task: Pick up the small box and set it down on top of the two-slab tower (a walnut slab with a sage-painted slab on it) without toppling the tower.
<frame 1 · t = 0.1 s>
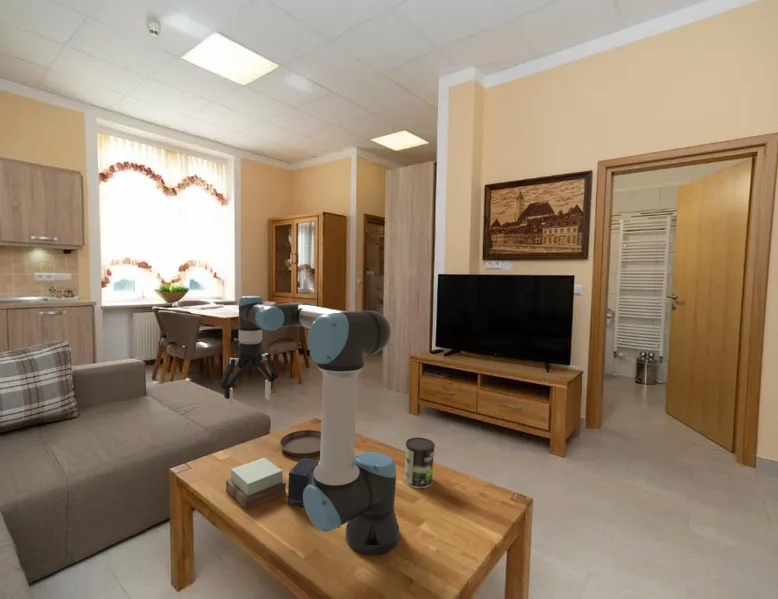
hand: (249, 403, 133), 28 cm above the table, fingers open, 13 cm apart
base slab: (255, 492, 130), on the table, touching top slab
plant saucer: (305, 448, 162), on the table
top slab: (256, 481, 130), point 3 cm above the table, touching base slab
small box: (303, 497, 128), on the table
coffee can: (418, 481, 140), on the table
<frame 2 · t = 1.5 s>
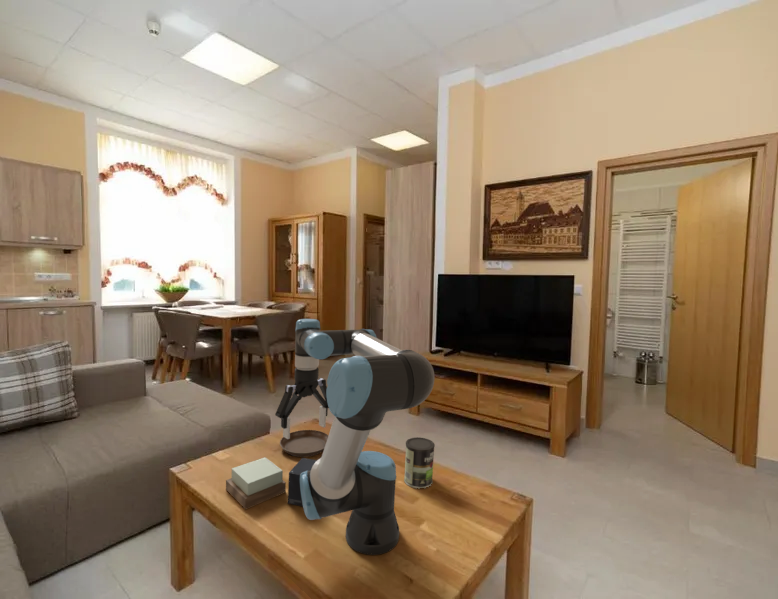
hand: (304, 431, 126), 22 cm above the table, fingers open, 13 cm apart
base slab: (255, 492, 130), on the table
top slab: (256, 481, 130), point 3 cm above the table
everything else where it was.
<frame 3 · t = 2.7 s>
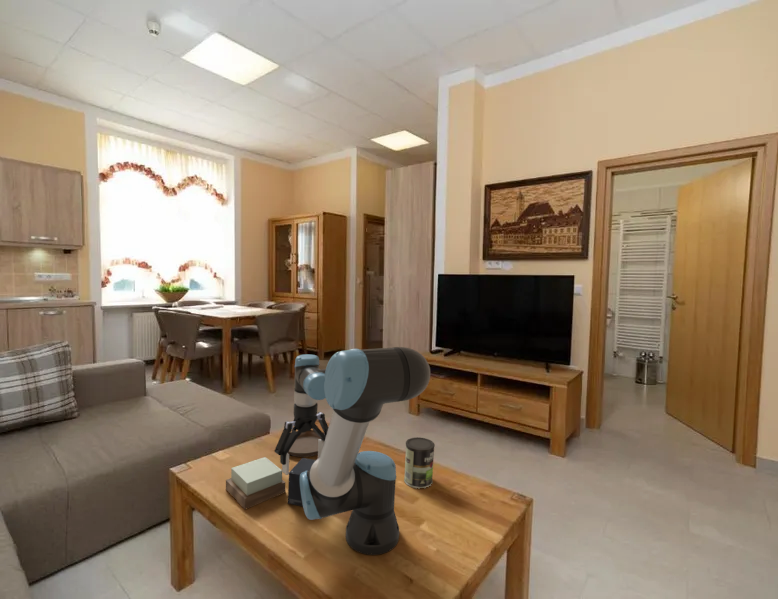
hand: (303, 465, 127), 10 cm above the table, fingers open, 13 cm apart
nothing on the table moved.
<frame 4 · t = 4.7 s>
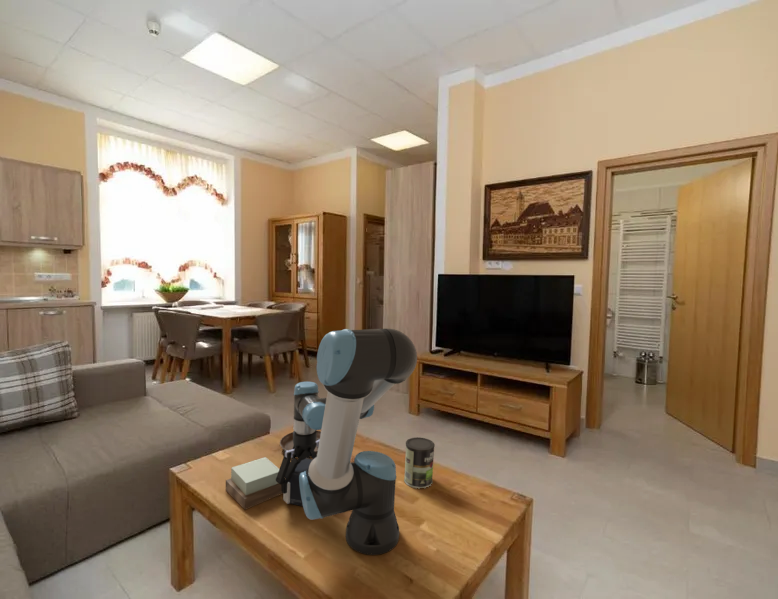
hand: (303, 494, 128), 1 cm above the table, fingers closed on small box, 12 cm apart
base slab: (255, 492, 130), on the table, touching top slab
top slab: (256, 480, 130), point 3 cm above the table, touching base slab
small box: (303, 497, 128), on the table, touching gripper
everything else where it was.
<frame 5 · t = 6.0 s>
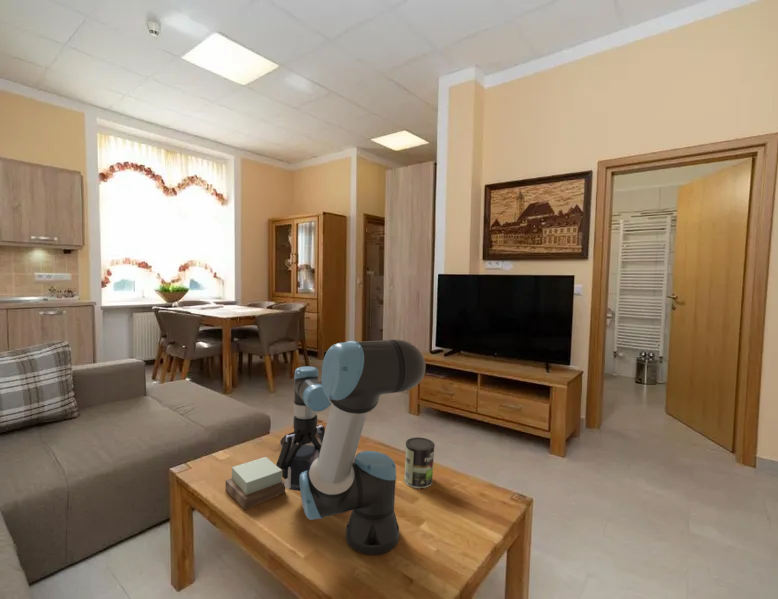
hand: (304, 480, 127), 6 cm above the table, fingers closed on small box, 12 cm apart
small box: (304, 483, 127), point 5 cm above the table, touching gripper
everything else where it was.
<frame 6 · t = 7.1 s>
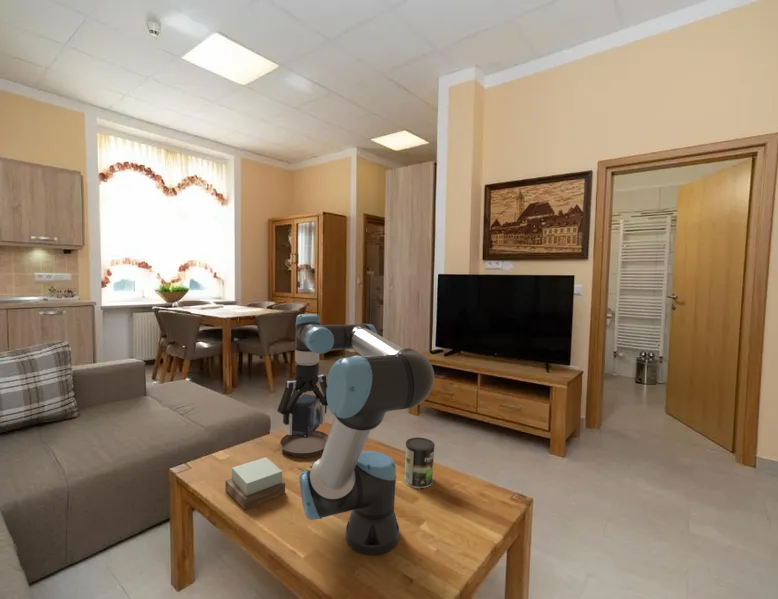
hand: (305, 428, 126), 23 cm above the table, fingers closed on small box, 12 cm apart
small box: (305, 431, 126), point 22 cm above the table, touching gripper
everything else where it was.
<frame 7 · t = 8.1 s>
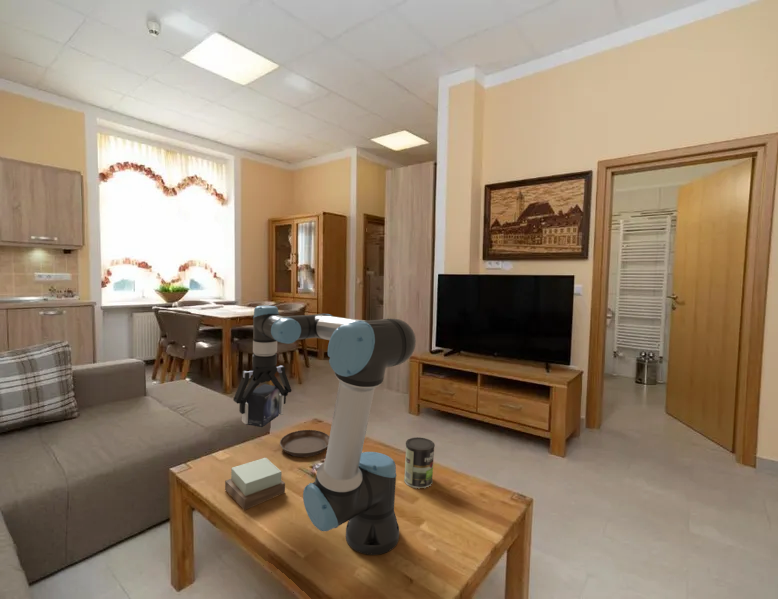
hand: (263, 418, 128), 25 cm above the table, fingers closed on small box, 12 cm apart
small box: (263, 420, 128), point 24 cm above the table, touching gripper
everything else where it was.
when the fingers open (10 cm above the table, at t = 12.0 s): small box drops 2 cm, resting on top slab.
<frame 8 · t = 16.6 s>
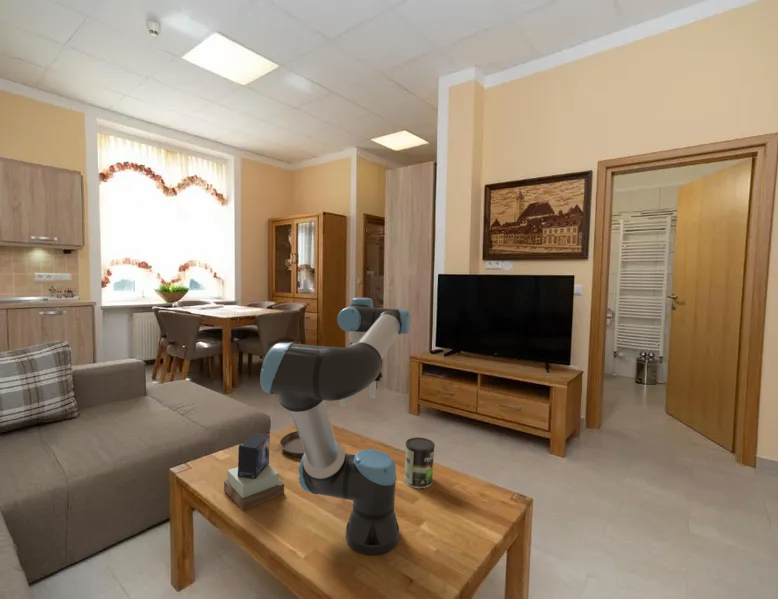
hand: (358, 402, 136), 29 cm above the table, fingers open, 13 cm apart
top slab: (252, 483, 128), point 3 cm above the table, touching base slab, small box
small box: (254, 470, 129), point 7 cm above the table, touching top slab
everything else where it was.
at the end: small box inside the target area on the top slab (0.9 cm from its centre), point 3.8 cm above the top slab's base; top slab 0.6 cm off-centre on the base slab, point 4.0 cm above the base slab's base; small box tilted 0° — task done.
